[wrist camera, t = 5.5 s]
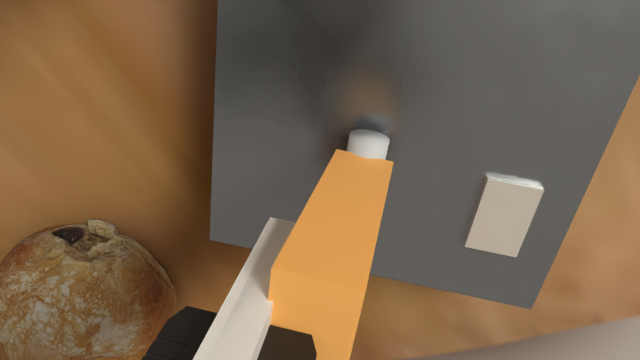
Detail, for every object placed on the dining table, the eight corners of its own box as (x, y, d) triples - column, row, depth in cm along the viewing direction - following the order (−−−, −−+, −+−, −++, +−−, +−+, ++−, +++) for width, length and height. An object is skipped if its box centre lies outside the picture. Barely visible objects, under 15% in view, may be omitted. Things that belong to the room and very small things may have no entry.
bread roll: (195, 212, 29) (116, 224, 21) (200, 373, 29) (123, 445, 21) (61, 215, 31) (-57, 227, 23) (65, 366, 31) (-52, 429, 23)
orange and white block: (325, 238, 19) (255, 409, 11) (345, 124, 16) (273, 247, 9) (372, 250, 18) (332, 433, 11) (399, 136, 16) (370, 272, 9)
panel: (238, 198, 24) (98, 400, 13) (268, -258, 15) (-47, -781, 5) (510, 254, 22) (613, 529, 11) (696, -206, 14) (1639, -747, 3)
